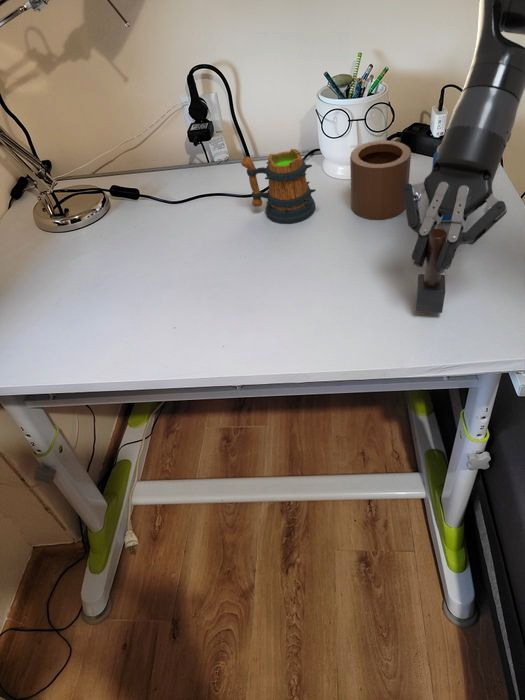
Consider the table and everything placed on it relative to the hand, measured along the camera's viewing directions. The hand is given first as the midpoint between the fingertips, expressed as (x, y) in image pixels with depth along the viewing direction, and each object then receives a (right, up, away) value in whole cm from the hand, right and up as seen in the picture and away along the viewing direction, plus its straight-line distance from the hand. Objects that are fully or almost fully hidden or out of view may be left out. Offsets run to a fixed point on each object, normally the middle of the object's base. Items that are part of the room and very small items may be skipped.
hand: (428, 268), depth 66 cm
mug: (-18, +16, +32) cm, 40 cm away
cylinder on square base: (+2, -4, +7) cm, 8 cm away
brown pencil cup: (0, +17, +29) cm, 33 cm away
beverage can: (+11, +13, +24) cm, 29 cm away
